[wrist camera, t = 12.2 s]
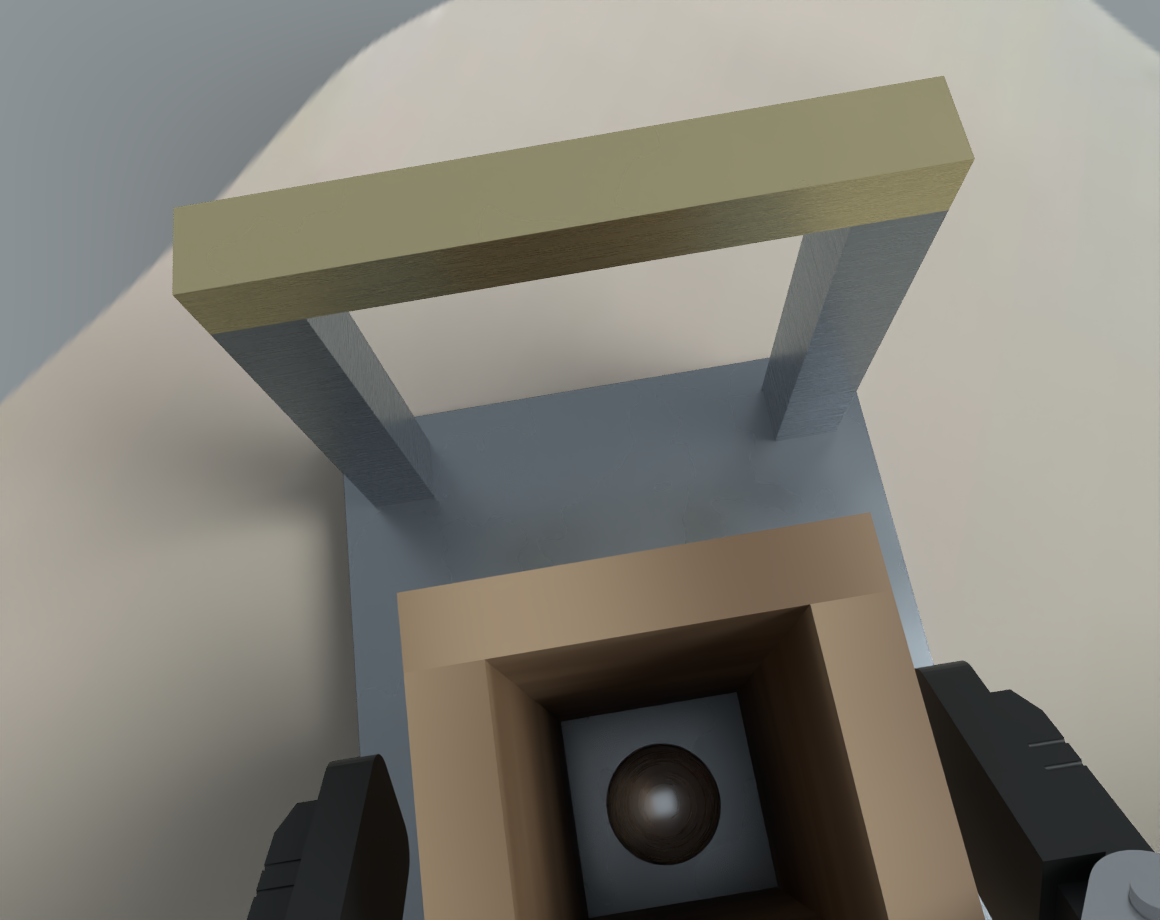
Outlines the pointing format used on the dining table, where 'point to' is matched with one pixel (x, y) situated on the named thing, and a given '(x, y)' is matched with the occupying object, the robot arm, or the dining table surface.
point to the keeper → (594, 410)
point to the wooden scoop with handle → (673, 674)
